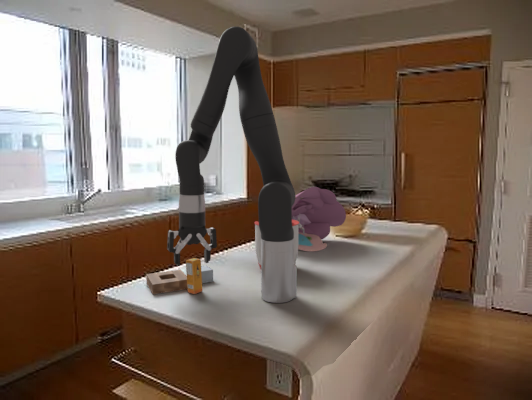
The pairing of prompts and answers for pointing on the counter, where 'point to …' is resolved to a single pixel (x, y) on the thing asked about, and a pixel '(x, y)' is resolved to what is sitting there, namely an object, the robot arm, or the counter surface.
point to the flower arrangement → (316, 217)
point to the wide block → (206, 274)
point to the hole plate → (166, 281)
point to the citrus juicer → (258, 241)
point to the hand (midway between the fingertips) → (192, 263)
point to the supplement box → (194, 275)
